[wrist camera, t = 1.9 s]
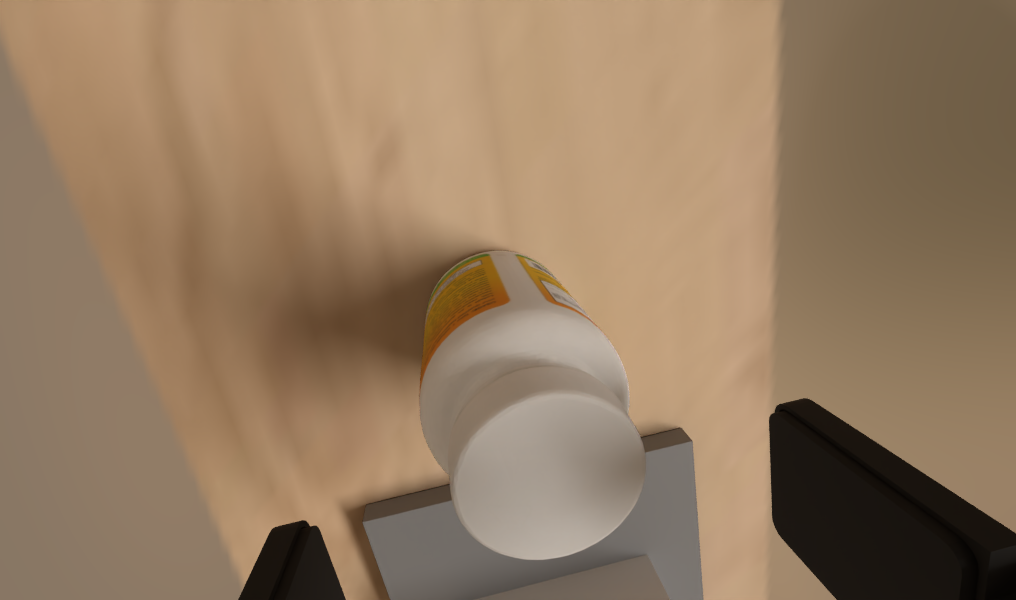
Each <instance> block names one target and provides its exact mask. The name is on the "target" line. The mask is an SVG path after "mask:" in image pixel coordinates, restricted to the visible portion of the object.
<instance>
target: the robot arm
mask: <svg viewBox="0 0 1016 600" xmlns="http://www.w3.org/2000/svg"><path fill="white" fill-rule="evenodd" d="M769 431H770V462H771V493H772V518H773V523H774V526H775V528H776V530H777V532H778V534H779V535H780V536H781V538H782V539H783V540H784V541H785V542H786V543H787V545H788V546H789V547H790V548H791V549H792V550H793V551H794V552H795V553H796V555H797V556H798V557H799V558H800V559H801V560H802V561H803V562H804V564H805V565H806V566H807V567H808V568H809V569H810V570H811V571H812V572H813V574H814V575H815V576H816V577H817V578H818V579H819V580H820V582H822V584H823V585H824V586H825V587H826V588H827V589H828V590H829V591H830V593H831V594H832V595H833V596H834V597H835V598H836V599H837V600H1016V533H1014V532H1013V531H1011V530H1010V529H1008V528H1007V527H1005V526H1004V525H1002V524H1001V523H999V522H998V521H996V520H994V519H993V518H991V517H990V516H988V515H987V514H985V513H984V512H982V511H981V510H979V509H978V508H976V507H975V506H973V505H971V504H970V503H968V502H967V501H965V500H964V499H962V498H961V497H959V496H958V495H956V494H955V493H953V492H952V491H950V490H948V489H947V488H945V487H944V486H942V485H941V484H939V483H938V482H936V481H934V480H933V479H932V478H930V477H928V476H927V475H925V474H924V473H922V472H921V471H919V470H918V469H916V468H915V467H913V466H912V465H910V464H908V463H907V462H905V461H904V460H902V459H901V458H899V457H898V456H896V455H895V454H893V453H892V452H890V451H889V450H887V449H886V448H884V447H882V446H881V445H879V444H877V443H876V442H875V441H873V440H872V439H870V438H869V437H867V436H866V435H864V434H863V433H861V432H859V431H858V430H856V429H855V428H853V427H852V426H850V425H849V424H847V423H846V422H844V421H843V420H841V419H840V418H838V417H836V416H835V415H833V414H832V413H830V412H829V411H827V410H826V409H824V408H822V407H821V406H820V405H818V404H816V403H815V402H813V401H812V400H810V399H805V398H803V399H799V400H795V401H791V402H787V403H783V404H779V405H778V406H777V407H776V409H775V413H773V414H771V415H770V417H769ZM238 600H346V599H345V596H344V594H343V591H342V588H341V586H340V583H339V580H338V578H337V575H336V572H335V570H334V567H333V564H332V562H331V559H330V556H329V554H328V551H327V548H326V546H325V543H324V540H323V538H322V535H321V532H320V530H319V528H318V527H317V526H311V527H310V526H309V524H308V523H307V522H306V521H304V520H302V521H298V522H294V523H290V524H286V525H282V526H278V527H275V528H273V529H272V530H271V532H270V533H269V535H268V538H267V540H266V542H265V544H264V546H263V548H262V550H261V552H260V555H259V557H258V559H257V561H256V563H255V565H254V567H253V570H252V572H251V574H250V576H249V578H248V580H247V582H246V584H245V587H244V589H243V591H242V593H241V595H240V597H239V599H238Z"/></svg>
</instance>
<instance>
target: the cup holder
mask: <svg viewBox="0 0 1016 600" xmlns="http://www.w3.org/2000/svg"><path fill="white" fill-rule="evenodd" d="M641 440H642V442H643V446H644V451H645V456H646V474H645V480H644V484H643V487H642V491H641V493H640V496H639V498H638V501H637V502H636V504H635V506H634V507H633V509H632V510H631V512H630V513H629V515H628V516H627V517H626V518H625V520H624V521H623V522H622V523H621V524H620V525H619V526H618V527H617V528H616V529H615V530H614V531H613V532H611V533H610V534H609V535H608V536H606V537H605V538H603V539H602V540H600V541H599V542H597V543H596V544H594V545H592V546H590V547H588V548H586V549H584V550H582V551H579V552H576V553H574V554H571V555H568V556H563V557H559V558H552V559H545V560H526V559H519V558H514V557H510V556H507V555H503V554H500V553H498V552H495V551H493V550H491V549H489V548H488V547H486V546H484V545H483V544H481V543H480V542H478V541H477V540H476V539H475V538H474V537H473V536H472V535H471V534H470V533H469V532H468V531H467V530H466V529H465V527H464V526H463V525H462V523H461V521H460V520H459V518H458V516H457V514H456V511H455V509H454V506H453V502H452V497H451V491H450V485H446V486H442V487H438V488H434V489H429V490H425V491H421V492H417V493H413V494H409V495H405V496H401V497H397V498H393V499H389V500H384V501H380V502H376V503H372V504H368V505H366V508H365V513H364V518H363V525H364V528H365V531H366V534H367V536H368V539H369V542H370V545H371V548H372V550H373V553H374V556H375V559H376V561H377V564H378V567H379V570H380V573H381V575H382V578H383V581H384V584H385V586H386V589H387V592H388V595H389V598H390V600H703V587H702V573H701V558H700V543H699V529H698V514H697V500H696V485H695V471H694V456H693V442H692V440H691V439H690V438H689V436H688V435H687V434H686V433H685V432H684V430H683V429H682V428H679V429H675V430H671V431H667V432H663V433H658V434H654V435H650V436H646V437H642V438H641Z"/></svg>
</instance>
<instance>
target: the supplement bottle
mask: <svg viewBox="0 0 1016 600" xmlns="http://www.w3.org/2000/svg"><path fill="white" fill-rule="evenodd" d="M419 399H420V419H421V425H422V430H423V433H424V437H425V439H426V442H427V444H428V446H429V448H430V450H431V452H432V454H433V456H434V458H435V459H436V461H437V462H438V464H439V465H440V466H441V467H442V468H443V470H444V471H445V472H446V473H447V474H448V475H449V478H450V491H451V497H452V502H453V506H454V509H455V511H456V514H457V516H458V518H459V520H460V521H461V523H462V525H463V526H464V527H465V529H466V530H467V531H468V532H469V533H470V534H471V535H472V536H473V537H474V538H475V539H476V540H477V541H478V542H480V543H481V544H483V545H484V546H486V547H488V548H489V549H491V550H493V551H495V552H498V553H500V554H503V555H507V556H510V557H514V558H519V559H526V560H545V559H552V558H559V557H563V556H568V555H571V554H574V553H576V552H579V551H582V550H584V549H586V548H588V547H590V546H592V545H594V544H596V543H597V542H599V541H600V540H602V539H603V538H605V537H606V536H608V535H609V534H610V533H611V532H613V531H614V530H615V529H616V528H617V527H618V526H619V525H620V524H621V523H622V522H623V521H624V520H625V518H626V517H627V516H628V515H629V513H630V512H631V510H632V509H633V507H634V506H635V504H636V502H637V501H638V498H639V496H640V493H641V491H642V487H643V484H644V480H645V474H646V456H645V451H644V446H643V442H642V440H641V437H640V435H639V433H638V431H637V429H636V427H635V425H634V424H633V422H632V421H631V419H630V417H629V416H628V412H629V401H630V398H629V385H628V380H627V376H626V373H625V369H624V366H623V364H622V362H621V359H620V357H619V355H618V353H617V352H616V350H615V348H614V347H613V345H612V344H611V342H610V341H609V339H608V338H607V337H606V335H605V334H604V333H603V332H602V331H601V329H600V328H599V327H598V326H597V325H596V324H595V323H594V322H593V321H592V319H591V318H590V317H589V316H588V315H587V314H586V313H585V311H584V310H583V309H582V308H581V307H580V305H579V304H578V303H577V301H575V299H574V298H573V297H572V296H571V295H570V294H569V293H568V291H567V290H566V289H565V288H564V287H563V286H562V285H561V283H560V282H559V281H558V280H557V279H556V277H555V276H554V275H553V274H552V273H551V272H550V271H548V270H547V269H546V268H545V267H544V266H543V265H541V264H540V263H538V262H537V261H535V260H534V259H532V258H530V257H528V256H525V255H523V254H519V253H516V252H511V251H488V252H483V253H479V254H476V255H473V256H470V257H468V258H466V259H464V260H462V261H461V262H459V263H457V264H456V265H455V266H453V267H452V268H451V269H449V270H448V271H447V272H446V273H445V274H444V275H443V277H442V278H441V279H440V280H439V282H438V283H437V285H436V286H435V288H434V290H433V292H432V294H431V297H430V299H429V303H428V307H427V312H426V318H425V330H424V345H423V356H422V366H421V378H420V395H419Z"/></svg>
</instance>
